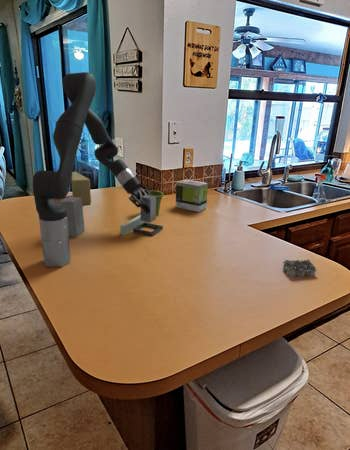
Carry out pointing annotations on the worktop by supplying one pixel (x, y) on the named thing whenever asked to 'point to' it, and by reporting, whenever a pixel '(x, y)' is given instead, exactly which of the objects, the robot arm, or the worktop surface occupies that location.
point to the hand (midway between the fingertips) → (151, 210)
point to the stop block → (151, 204)
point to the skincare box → (74, 215)
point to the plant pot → (157, 199)
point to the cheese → (81, 188)
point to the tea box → (191, 195)
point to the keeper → (137, 230)
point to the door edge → (130, 225)
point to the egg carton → (299, 268)
